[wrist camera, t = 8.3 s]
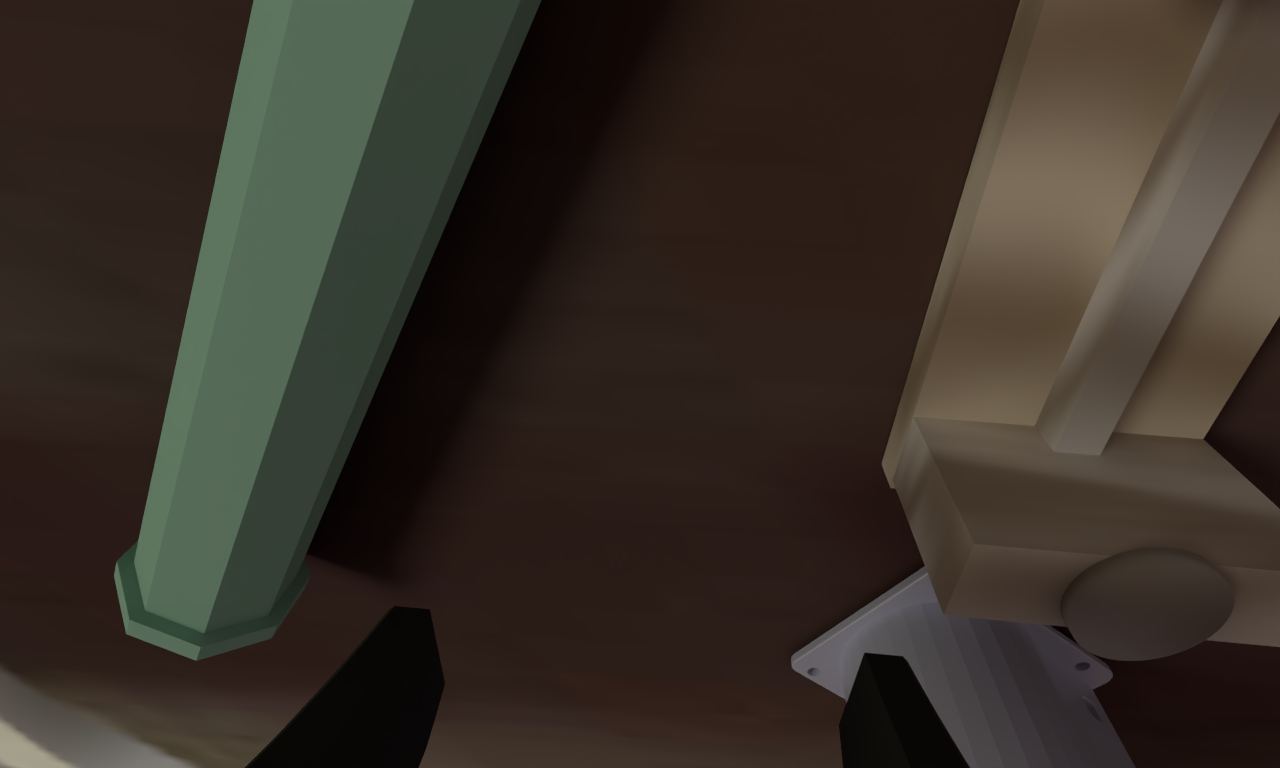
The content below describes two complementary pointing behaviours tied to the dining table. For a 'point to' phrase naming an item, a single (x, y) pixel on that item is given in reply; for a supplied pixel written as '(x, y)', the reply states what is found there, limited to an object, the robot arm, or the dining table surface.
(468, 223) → the dining table surface
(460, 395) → the dining table surface
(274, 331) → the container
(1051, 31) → the rail
